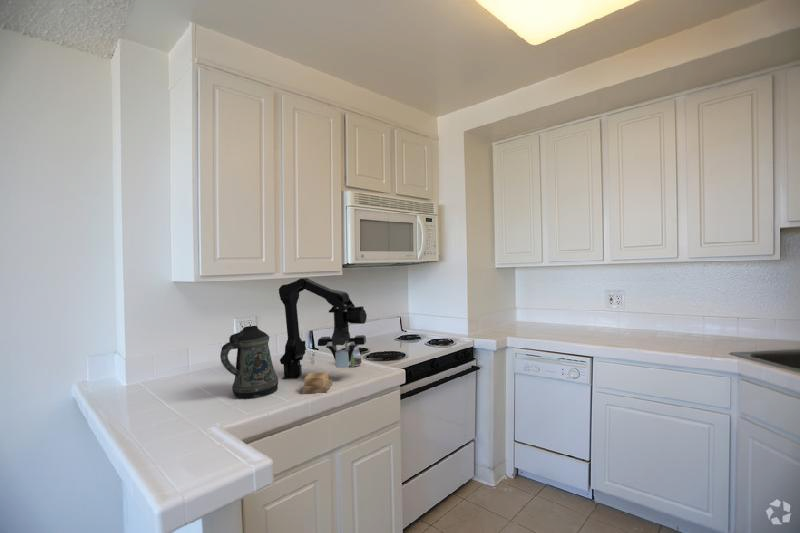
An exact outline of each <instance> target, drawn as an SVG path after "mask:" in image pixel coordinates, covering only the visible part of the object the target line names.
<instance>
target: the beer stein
mask: <svg viewBox="0 0 800 533" xmlns="http://www.w3.org/2000/svg"><path fill="white" fill-rule="evenodd" d="M228 339H229V342H226V343H224V344H223V346H222V347H221V351H220V355H219V357H220V358H219V359H220V361H221V364H222V366H223V367H224V368H225V369H226V370H227V371H228V372H229V373H230V374H232V375H233V376H234V382H233V384H232V386H231V387H232V393H233V396H234V397H235V398H236V399H239V400H241V399H242V400H253V399H254V400H255V399H259V398H264V397H268V396H270V395H272V394H274V393H276V392H277V391H278V385H279V378H278V376H277V374H276V371H275V369H274V368H275V367H274V364H273V360H272V356H271V351H270V347H269V341H270V335H269V334H268V333H266V332H264V331H262V330H261V329H259V328H258V326H257V325H250V326H249V325H248V326H244V327H243V328H242V329H241V331H239V332H237V333H234V334H231V335H230V336H229V338H228ZM231 350H237V351H236V361H235V362H236V363H235V366H234V365H233V364H232V363H231V361H230V360H229V353H230V351H231Z"/></svg>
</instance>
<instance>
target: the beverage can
mask: <svg viewBox="0 0 800 533" xmlns="http://www.w3.org/2000/svg"><path fill="white" fill-rule="evenodd" d="M349 345H350V343H345V344H344V350H347V349H349ZM361 364H362V359H361V353H360V347H359V345H357V347H355V348H354V351H353V354H352V358H351V364H350V366H349V367H351V368H354V367H358V366H360V365H361Z"/></svg>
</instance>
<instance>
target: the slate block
mask: <svg viewBox="0 0 800 533" xmlns="http://www.w3.org/2000/svg"><path fill="white" fill-rule="evenodd" d="M335 360H336V361H335ZM334 361H335V368H338V369H339V368H349V367H351V366H350V364H351V361H350V362H349V349H347V350H346V349H337V351H336V352H335V359H334Z"/></svg>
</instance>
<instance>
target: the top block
mask: <svg viewBox="0 0 800 533" xmlns="http://www.w3.org/2000/svg"><path fill="white" fill-rule="evenodd" d="M303 379H304V385H305V386H324V385H325V384H326V382H327V381H328V379H329V372H310V373H308V374H307V375H306V376H305V377H304V378H303Z"/></svg>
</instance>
